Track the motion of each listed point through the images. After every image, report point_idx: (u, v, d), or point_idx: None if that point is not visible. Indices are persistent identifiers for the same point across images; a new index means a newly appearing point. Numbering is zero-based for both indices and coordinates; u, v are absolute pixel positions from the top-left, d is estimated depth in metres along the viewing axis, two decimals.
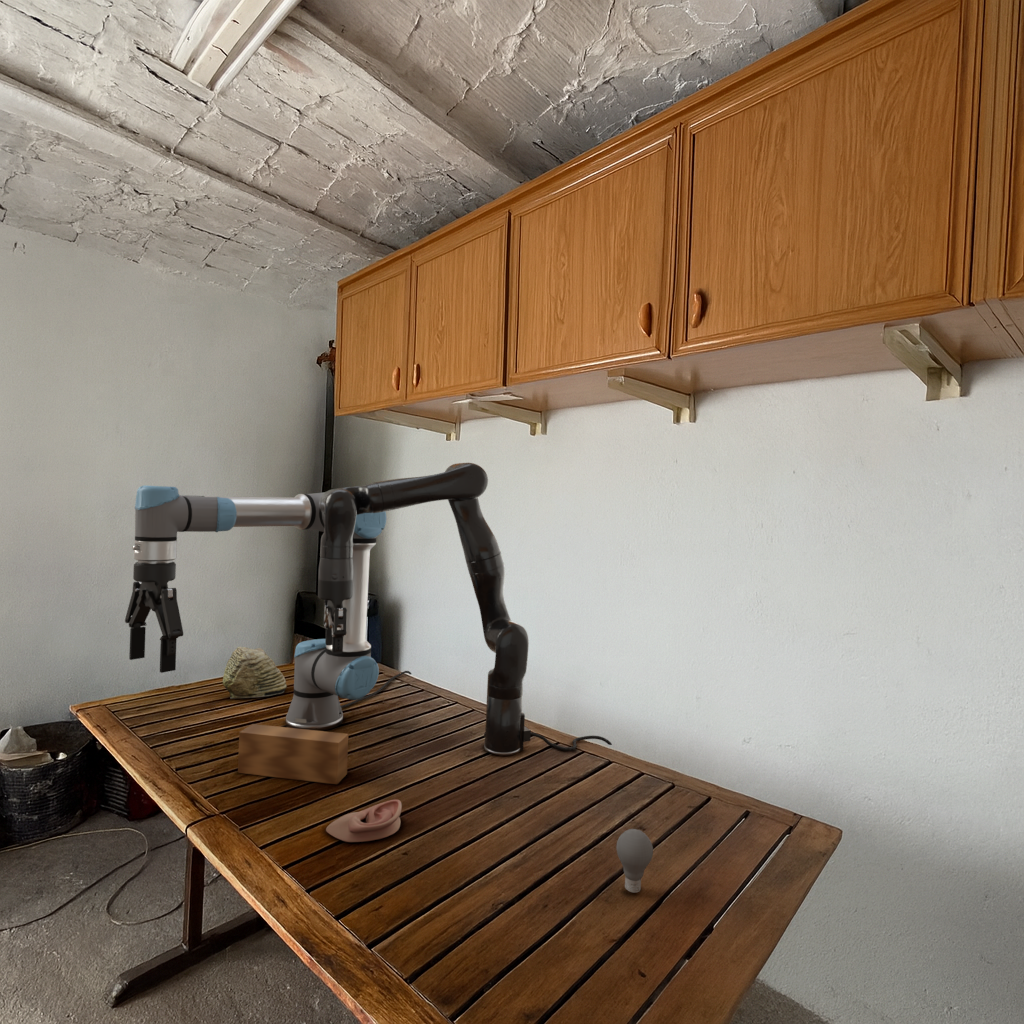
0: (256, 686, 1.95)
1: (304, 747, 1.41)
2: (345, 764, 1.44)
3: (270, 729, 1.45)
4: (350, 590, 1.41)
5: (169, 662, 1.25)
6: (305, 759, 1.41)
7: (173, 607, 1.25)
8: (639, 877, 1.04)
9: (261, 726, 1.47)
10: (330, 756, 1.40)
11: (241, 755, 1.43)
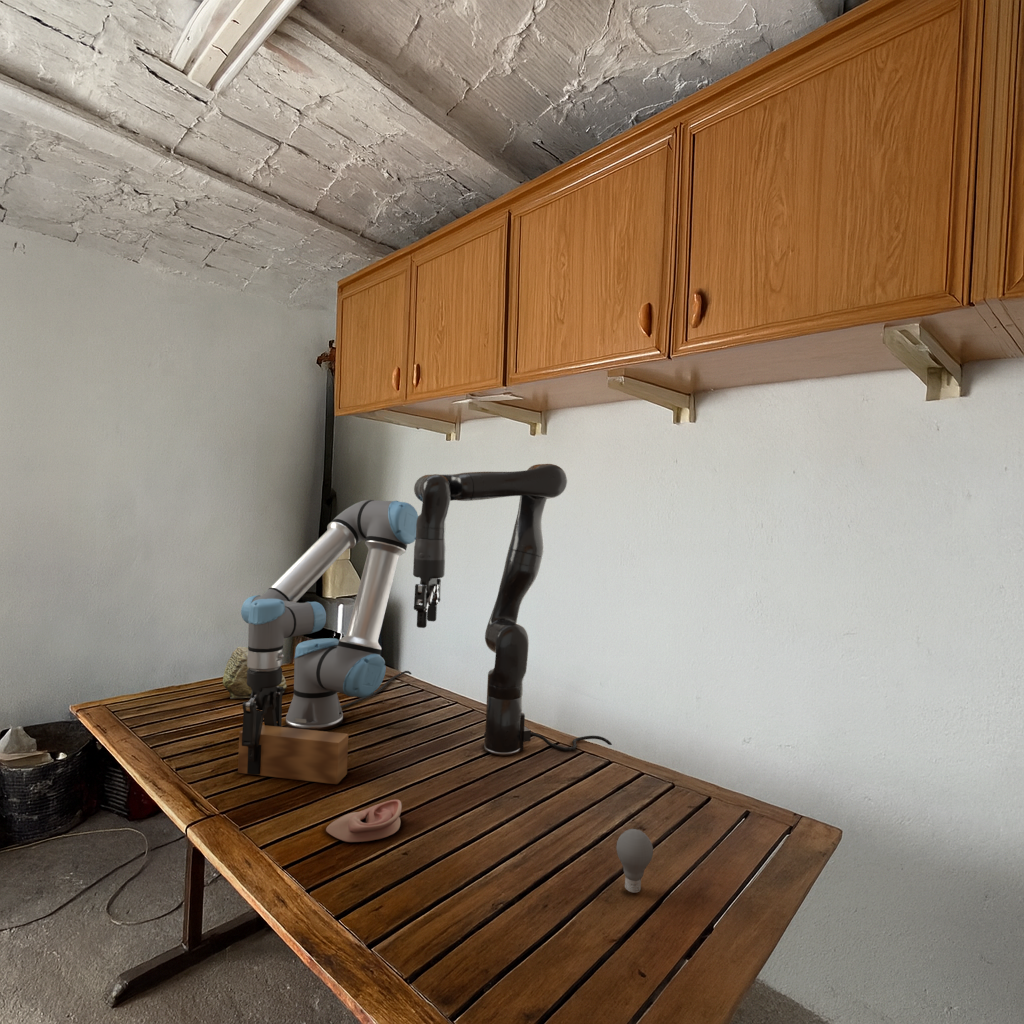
0: None
1: (304, 747, 1.41)
2: (345, 764, 1.44)
3: (270, 729, 1.45)
4: (437, 569, 1.50)
5: None
6: (305, 759, 1.41)
7: None
8: (639, 877, 1.04)
9: None
10: (330, 756, 1.40)
11: (241, 755, 1.43)
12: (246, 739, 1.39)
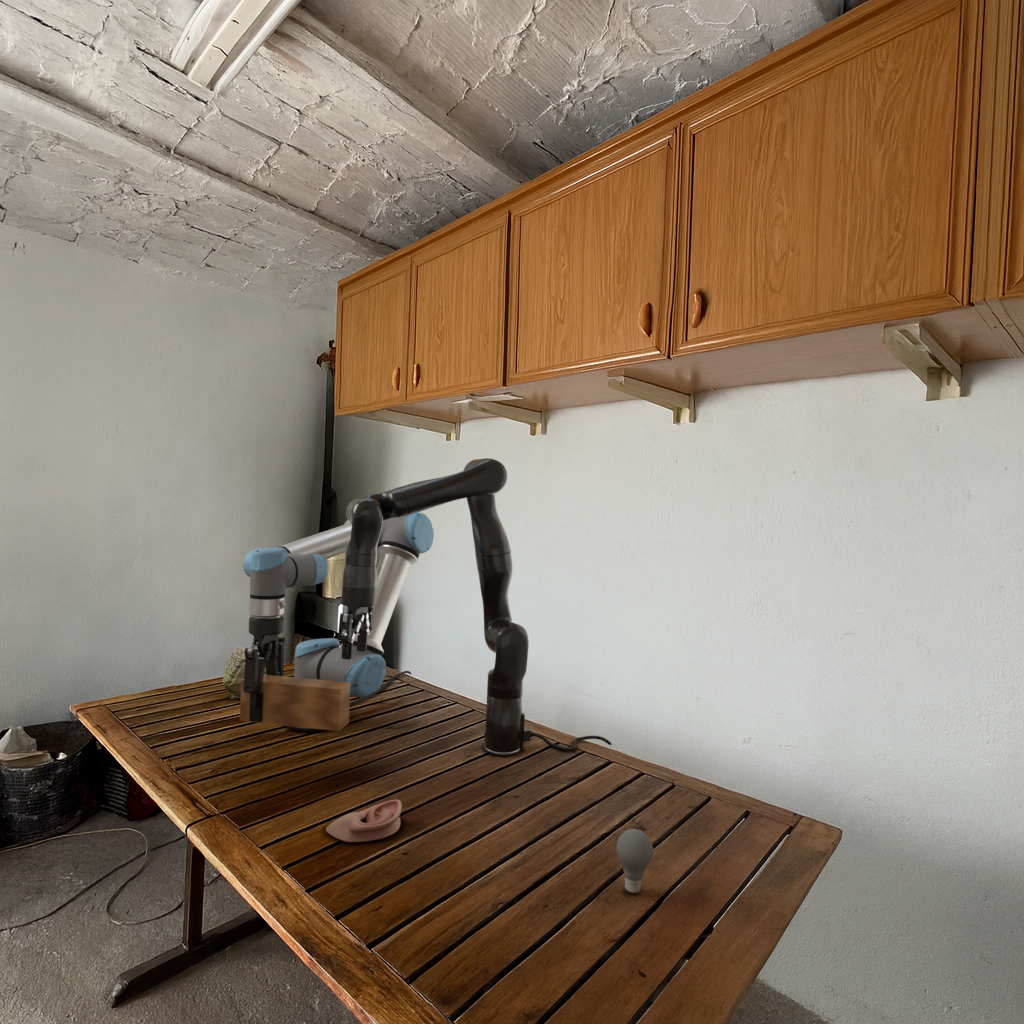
0: None
1: (306, 694, 1.41)
2: (347, 712, 1.44)
3: (272, 678, 1.45)
4: (365, 598, 1.42)
5: None
6: (307, 706, 1.41)
7: None
8: (639, 877, 1.04)
9: None
10: (332, 703, 1.40)
11: (243, 703, 1.43)
12: (248, 685, 1.39)
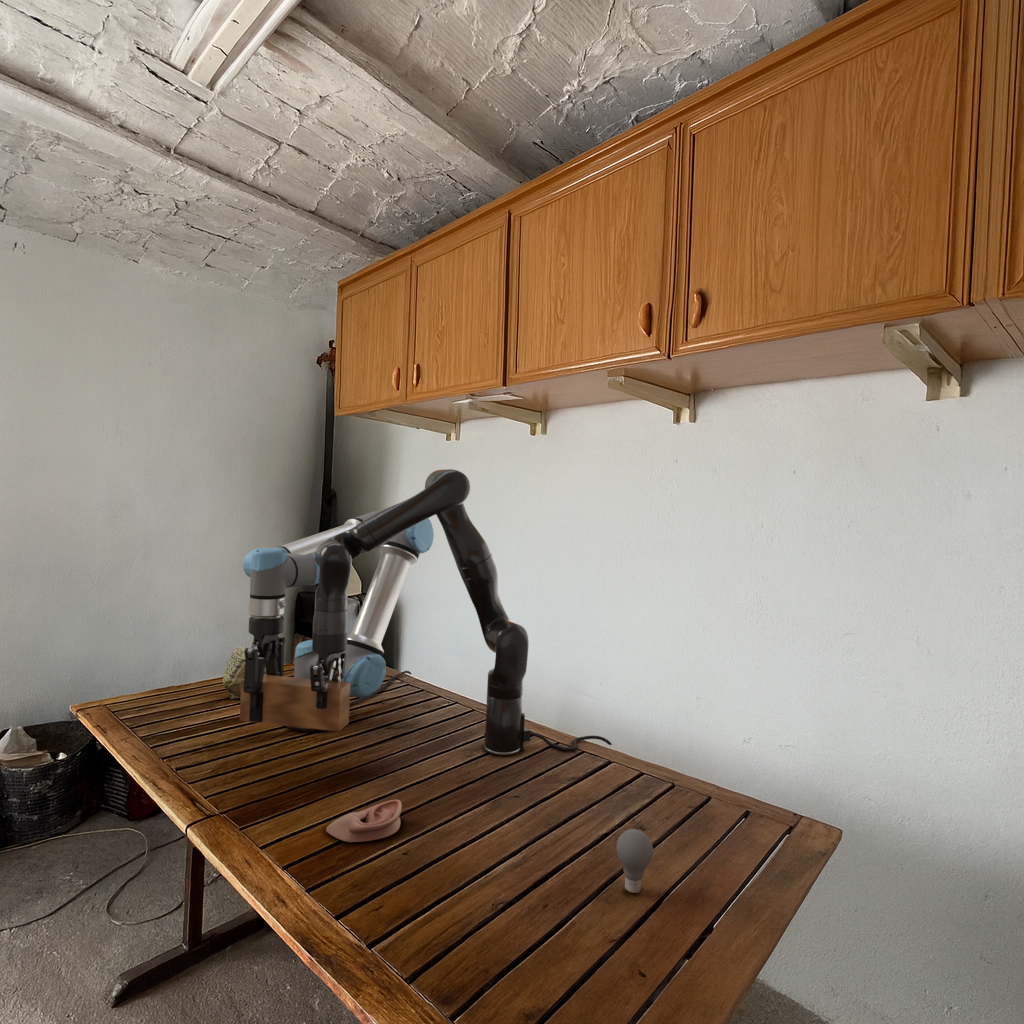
0: None
1: (306, 694, 1.41)
2: (347, 712, 1.44)
3: (272, 678, 1.45)
4: (336, 644, 1.39)
5: None
6: (307, 706, 1.41)
7: None
8: (639, 877, 1.04)
9: None
10: (332, 703, 1.40)
11: (243, 703, 1.43)
12: (248, 685, 1.39)
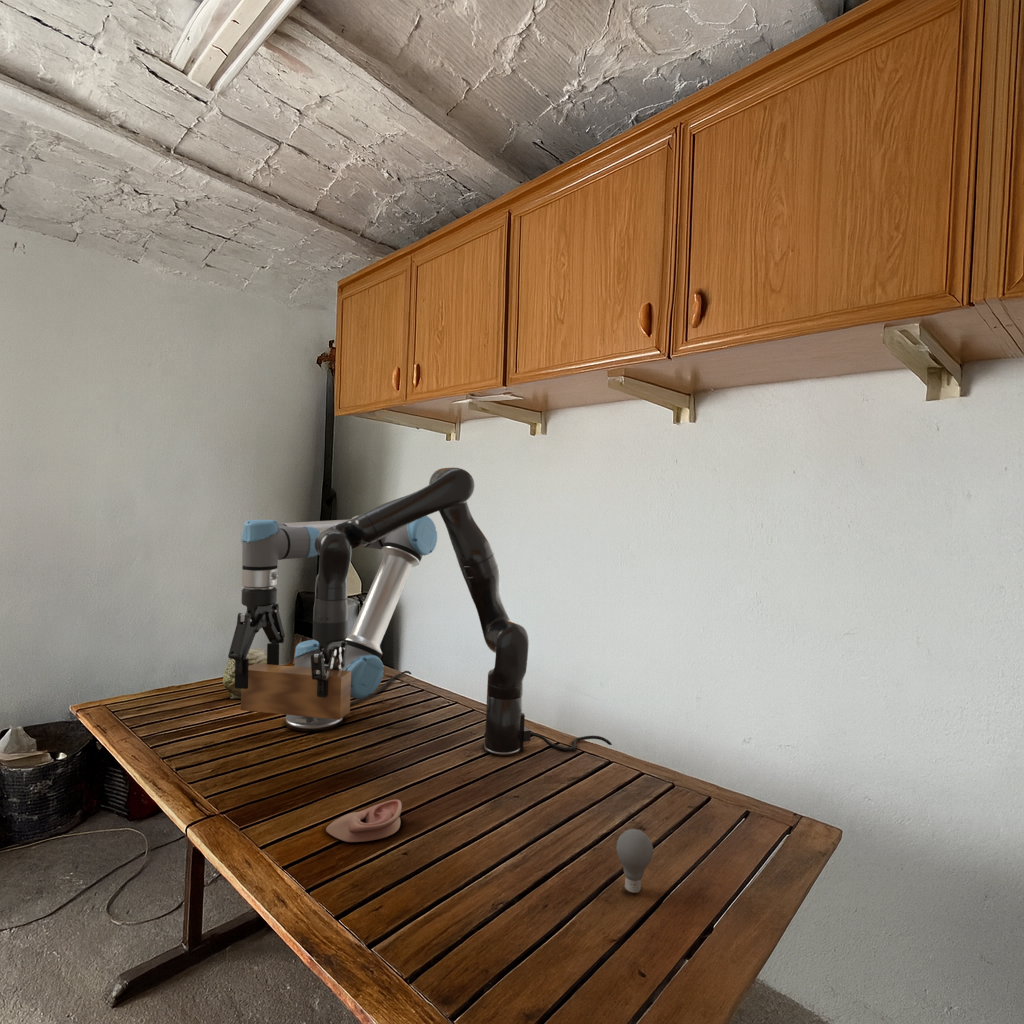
0: None
1: (307, 683, 1.40)
2: (348, 701, 1.44)
3: (273, 667, 1.45)
4: (336, 632, 1.39)
5: None
6: (308, 695, 1.40)
7: None
8: (639, 877, 1.04)
9: (263, 665, 1.47)
10: (333, 692, 1.40)
11: (244, 692, 1.43)
12: (234, 650, 1.36)
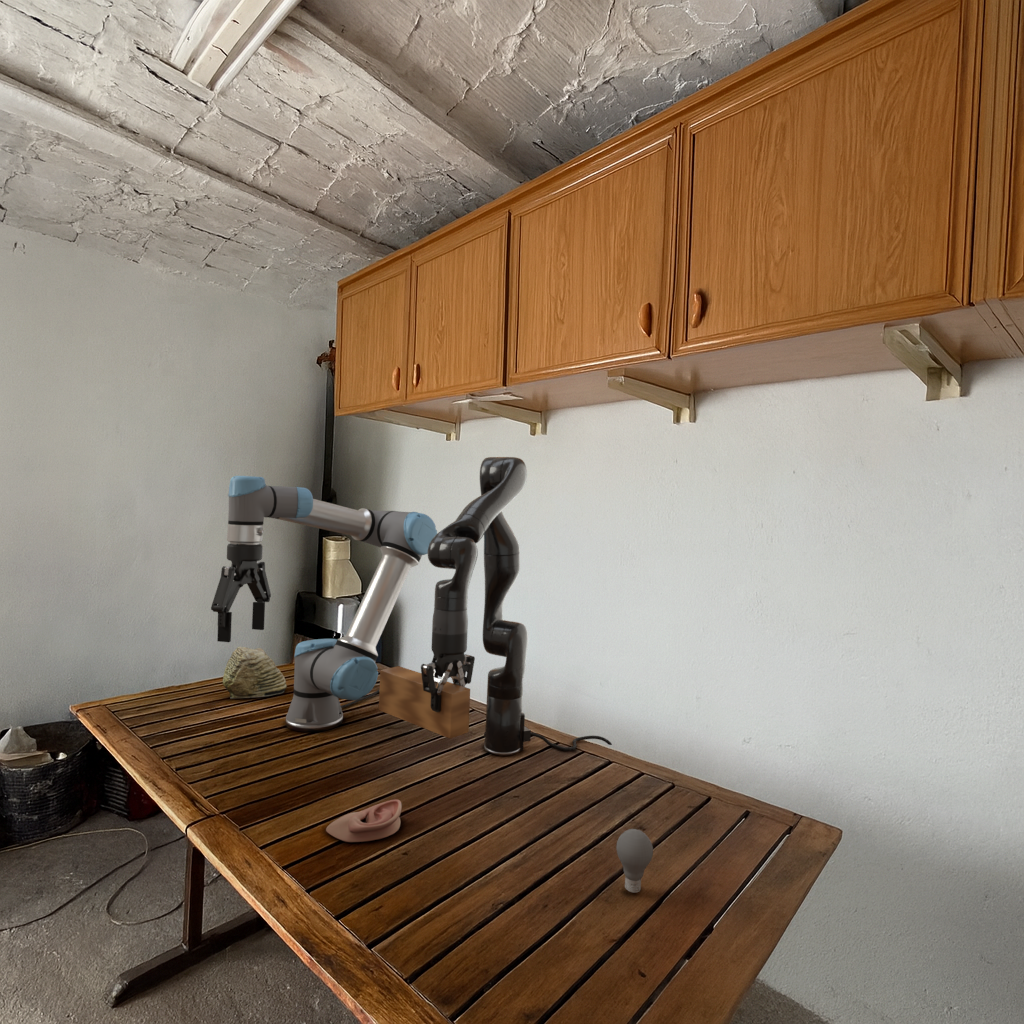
0: (256, 686, 1.95)
1: (425, 694, 1.36)
2: (465, 720, 1.34)
3: (407, 673, 1.44)
4: (449, 645, 1.31)
5: None
6: (426, 706, 1.35)
7: None
8: (639, 877, 1.04)
9: (403, 669, 1.47)
10: (445, 708, 1.32)
11: (381, 693, 1.46)
12: (217, 602, 1.36)
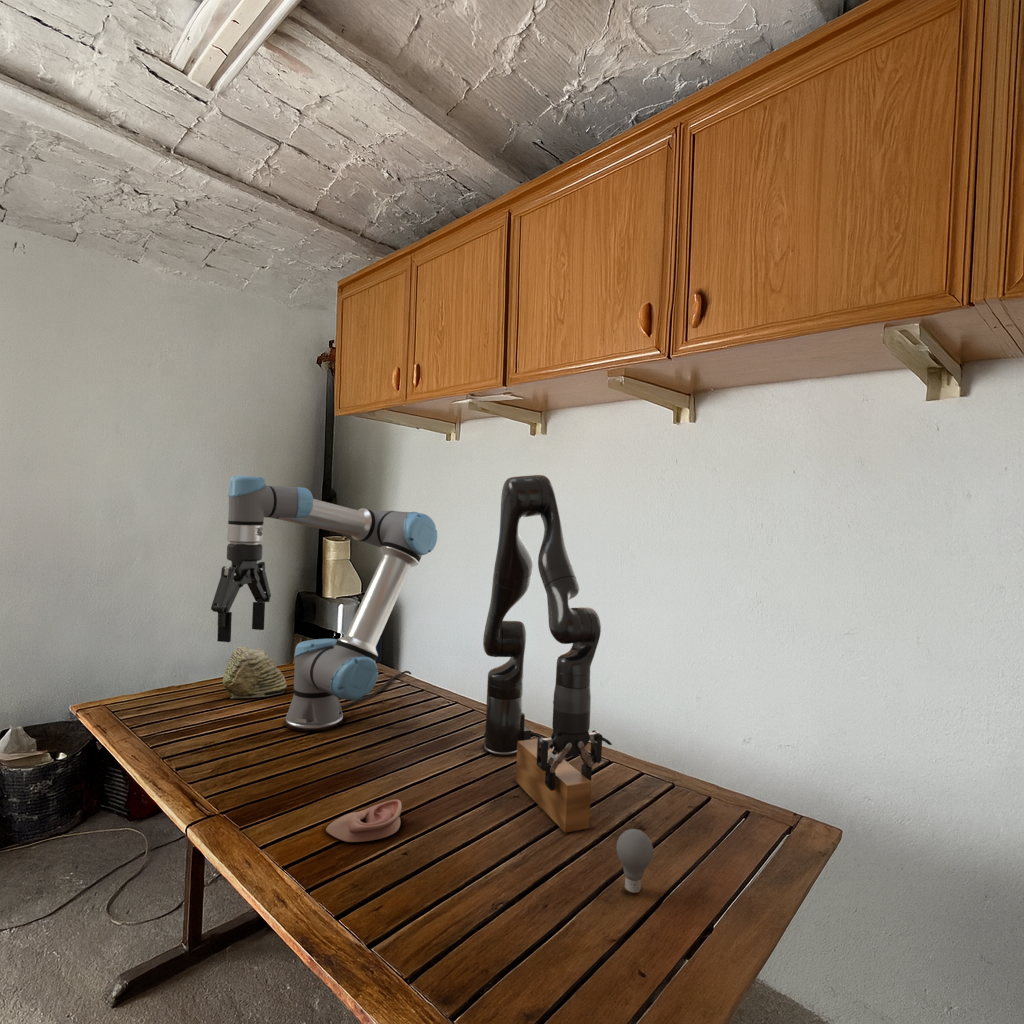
0: (256, 686, 1.95)
1: None
2: (585, 815, 1.25)
3: None
4: (566, 724, 1.25)
5: None
6: (548, 791, 1.30)
7: None
8: (639, 877, 1.04)
9: None
10: (562, 798, 1.25)
11: (517, 765, 1.44)
12: (217, 602, 1.36)
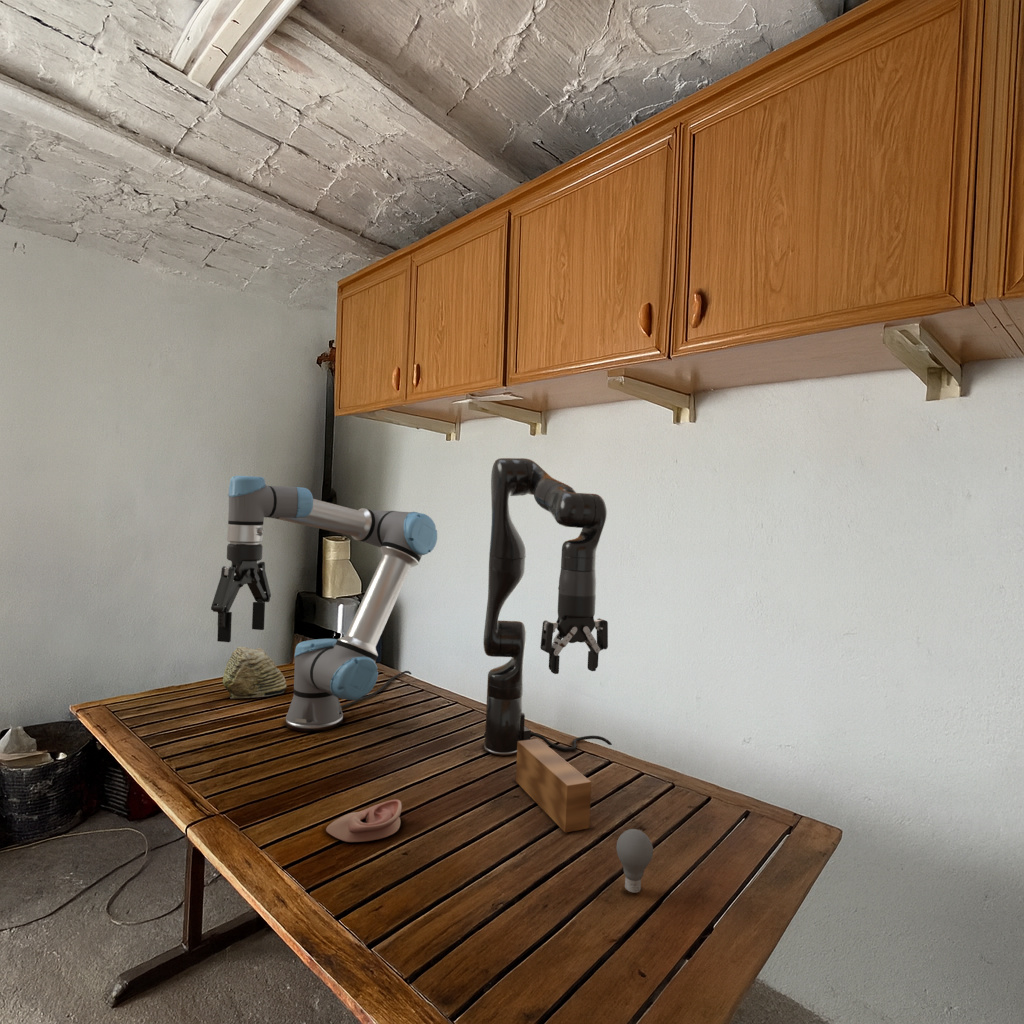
0: (256, 686, 1.95)
1: (548, 778, 1.31)
2: (585, 815, 1.25)
3: (540, 749, 1.41)
4: (571, 607, 1.24)
5: None
6: (548, 791, 1.30)
7: None
8: (639, 877, 1.04)
9: (540, 743, 1.44)
10: (562, 798, 1.25)
11: (517, 765, 1.44)
12: (217, 602, 1.36)
